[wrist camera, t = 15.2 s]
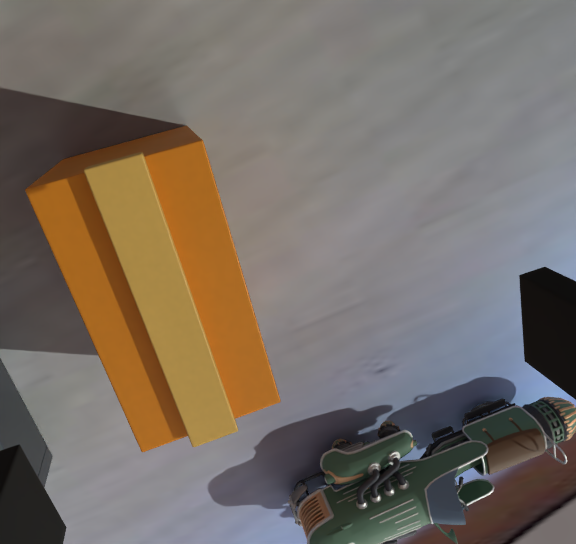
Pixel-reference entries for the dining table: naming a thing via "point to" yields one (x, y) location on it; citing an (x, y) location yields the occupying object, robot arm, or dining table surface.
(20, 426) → the rectangular frame
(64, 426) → the dining table surface
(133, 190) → the orange striped block
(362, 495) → the hoverbike
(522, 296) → the robot arm
